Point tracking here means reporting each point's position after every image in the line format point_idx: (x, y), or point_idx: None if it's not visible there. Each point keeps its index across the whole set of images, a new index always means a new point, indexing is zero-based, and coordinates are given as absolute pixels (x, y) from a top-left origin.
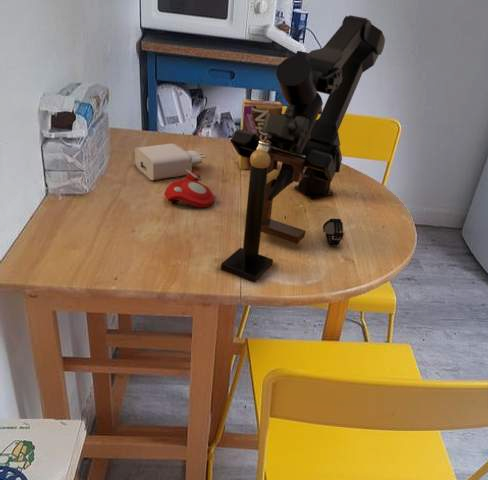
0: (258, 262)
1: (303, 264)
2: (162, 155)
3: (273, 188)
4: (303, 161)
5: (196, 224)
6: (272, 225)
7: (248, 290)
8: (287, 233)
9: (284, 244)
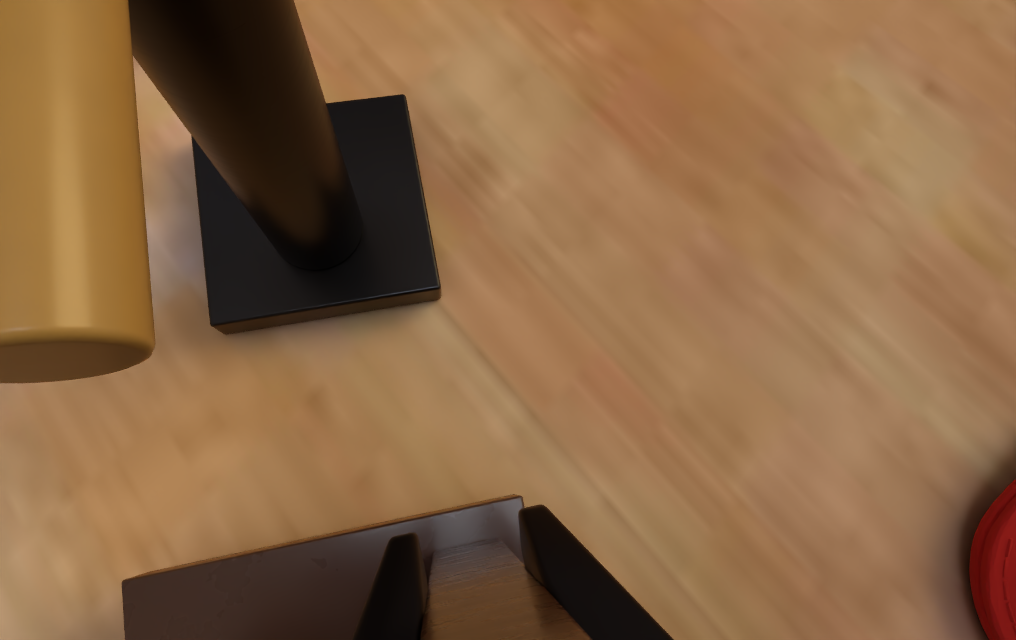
0: (259, 236)
1: (73, 488)
2: None
3: (385, 637)
4: None
5: (825, 362)
6: None
7: None
8: (225, 565)
9: None
